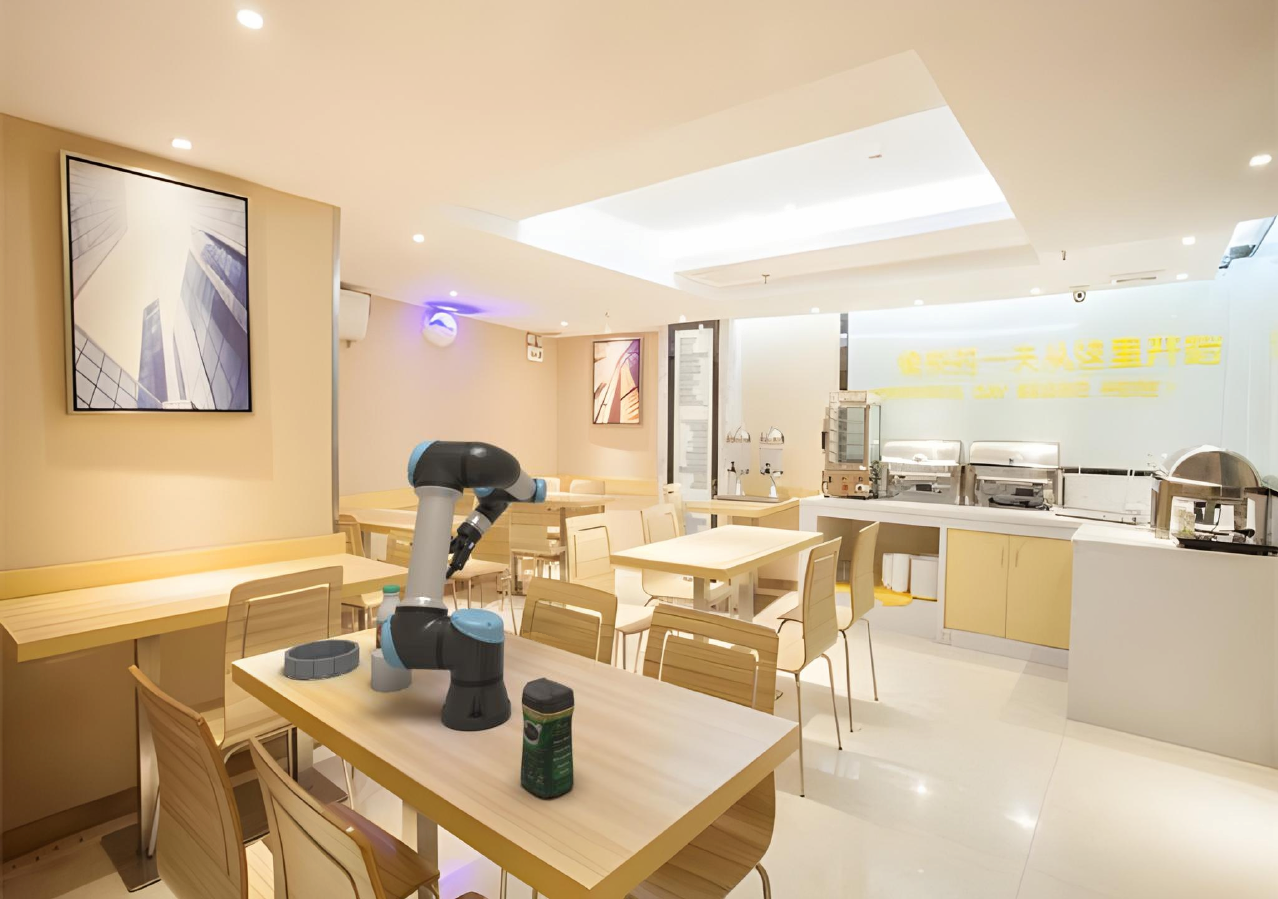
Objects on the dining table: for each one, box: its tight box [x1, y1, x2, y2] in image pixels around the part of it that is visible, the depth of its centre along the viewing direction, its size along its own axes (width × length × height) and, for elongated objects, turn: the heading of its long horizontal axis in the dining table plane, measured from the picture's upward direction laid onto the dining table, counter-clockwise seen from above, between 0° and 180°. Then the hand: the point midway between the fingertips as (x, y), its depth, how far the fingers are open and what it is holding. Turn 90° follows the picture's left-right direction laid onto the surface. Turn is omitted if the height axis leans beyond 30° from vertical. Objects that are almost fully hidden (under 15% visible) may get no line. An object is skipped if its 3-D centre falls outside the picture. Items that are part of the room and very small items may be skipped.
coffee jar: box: [520, 677, 576, 798], centre depth 116 cm, size 10×8×19 cm
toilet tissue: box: [370, 648, 413, 694], centre depth 163 cm, size 9×13×9 cm
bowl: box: [283, 638, 360, 680], centre depth 173 cm, size 18×18×5 cm
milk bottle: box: [375, 584, 401, 650], centre depth 184 cm, size 8×8×20 cm
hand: (426, 582), depth 191 cm, fingers open, 13 cm apart
